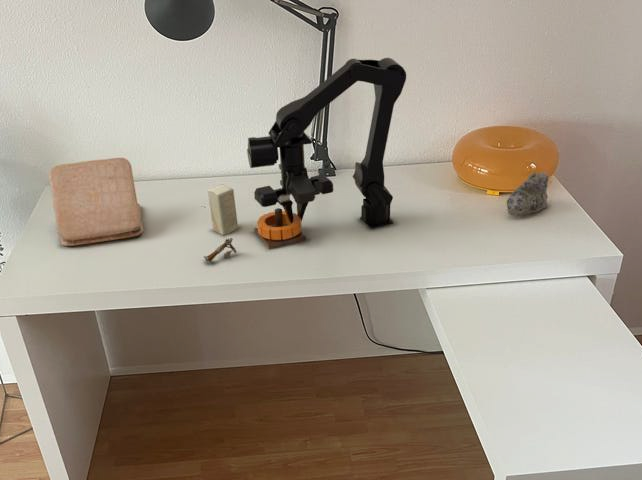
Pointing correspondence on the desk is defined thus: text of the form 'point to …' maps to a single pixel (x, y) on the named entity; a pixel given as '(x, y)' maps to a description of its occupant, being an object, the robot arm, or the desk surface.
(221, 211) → the box
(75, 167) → the case
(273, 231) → the orange ring
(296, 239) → the brown peg stand
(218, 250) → the wooden post with brackets
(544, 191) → the mineral rock
